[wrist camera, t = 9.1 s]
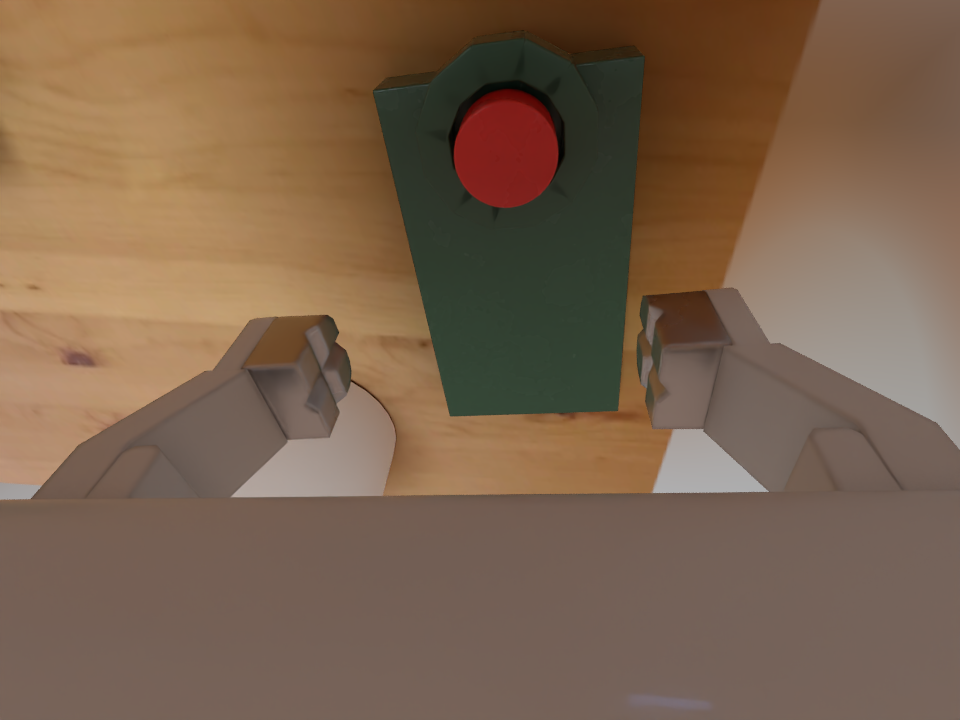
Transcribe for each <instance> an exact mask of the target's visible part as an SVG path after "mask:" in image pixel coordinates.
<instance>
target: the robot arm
mask: <svg viewBox="0 0 960 720" xmlns="http://www.w3.org/2000/svg"><path fill="white" fill-rule="evenodd" d="M640 318H641V322H642V325H643V330H642V331H641V332H640V333H639V334H638V339H637V367H638V374H639V378H640V382H641V385H643V386H644V387H645V388H647V391H646V400H645V402H646V406H647V410H648V414H649V418H650V421H651V425H652V429H704V432H705V433H706V434H707V435H708V436H709V437H710V438H711V439H712V440H714V441H715V442H716V443H717V444H718V445H719V446H720V447H721V448H722V449H723V450H724V451H725V452H727V453H728V454H729V455H730V456H731V457H732V458H733V459H734V460H735V461H736V462H737V463H738V464H740V465H741V466H742V467H743V468H744V469H745V470H746V471H747V472H748V473H749V474H750V475H751V476H753V477H754V478H755V479H756V480H757V481H758V482H759V483H760V484H761V485H763V487H765V488H766V489H767V490H768V491H769V492H732V493H730V492H728V493H624V494H506V495H412V496H319V497H231V496H232V495H233V494H234V493H235V492H236V491H237V490H238V489H239V488H240V487H242V486H243V485H244V484H245V483H246V482H247V481H248V480H249V479H250V478H251V477H252V476H253V475H254V474H255V473H256V472H257V471H258V470H259V469H260V468H261V467H263V466H264V465H265V464H266V463H267V462H268V461H269V460H270V459H271V458H272V457H273V456H274V455H275V454H276V453H277V452H278V451H279V450H280V449H281V448H282V447H284V446H285V445H286V444H287V443H288V441H287V440H298V439H316V438H330V435H331V433H332V431H333V428H334V426H335V423H336V421H337V418H338V416H339V413H340V411H339V409H338V407H337V403H338V402H339V401H340V400H342V399H343V398H344V397H346V396H347V393H348V390H349V388H350V384H351V366H350V360H349V357H348V355H347V352H346V350H345V349H344V348H342V347H341V346H340V345H338V344H337V343H336V342H335V341H336V339H337V336H338V334H339V331H338V329H337V326H336V324H335V322H334V319H333V318H331V317H330V316H328V315H310V316H286V317H266V318H256V319H253V320H250V321H249V322H248V324H247V325H246V326H245V328H244V329H243V331H242V332H241V333H240V335H239V336H238V337H237V339H236V340H235V341H234V343H233V344H232V345H231V347H230V348H229V349H228V351H227V352H226V353H225V355H224V356H223V357H222V359H221V360H220V362H219V363H218V364H217V366H216V367H215V368H214V370H213V371H204V372H203V373H201V374H199V375H198V376H196V377H194V378H192V379H191V380H189V381H187V382H186V383H184V384H182V385H180V386H179V387H177V388H175V389H174V390H172V391H170V392H169V393H167V394H165V395H163V396H162V397H160V398H158V399H157V400H155V401H153V402H151V403H150V404H148V405H146V406H145V407H143V408H141V409H139V410H138V411H136V412H134V413H133V414H131V415H129V416H128V417H126V418H124V419H122V420H121V421H119V422H117V423H116V424H114V425H112V426H110V427H109V428H107V429H105V430H104V431H102V432H100V433H99V434H97V435H95V436H93V437H92V438H90V439H88V440H87V441H85V442H83V443H81V444H80V445H78V446H77V447H76V449H75V450H74V451H73V452H72V453H71V454H70V455H69V456H68V458H67V459H66V460H65V461H64V462H63V463H62V464H61V465H60V467H59V468H58V469H57V470H56V471H55V472H54V473H53V474H52V475H51V477H50V478H49V479H48V480H47V481H46V482H45V483H44V484H43V486H42V487H41V488H40V489H39V490H38V491H37V492H36V494H35V495H34V496H33V497H32V498H31V499H28V500H27V499H25V500H24V499H23V500H21V499H20V500H0V720H960V450H959V449H958V447H957V446H956V445H955V444H954V443H953V442H952V440H951V439H950V438H949V437H948V436H947V434H946V433H945V432H944V431H943V430H942V429H941V427H940V426H939V425H938V424H937V423H936V422H933V421H932V420H930V419H928V418H926V417H924V416H922V415H920V414H918V413H916V412H914V411H912V410H910V409H908V408H906V407H904V406H902V405H900V404H898V403H896V402H895V401H892V400H891V399H889V398H887V397H884V396H883V395H881V394H879V393H877V392H875V391H873V390H871V389H869V388H867V387H865V386H863V385H861V384H859V383H857V382H855V381H853V380H851V379H849V378H847V377H845V376H843V375H841V374H839V373H837V372H835V371H834V370H831V369H830V368H828V367H826V366H824V365H822V364H819V363H818V362H816V361H814V360H812V359H810V358H808V357H806V356H804V355H802V354H800V353H798V352H796V351H794V350H792V349H790V348H788V347H786V346H784V345H782V344H780V343H775V344H770V343H769V341H768V339H767V338H766V336H765V334H764V333H763V331H762V329H761V328H760V326H759V324H758V323H757V321H756V320H755V318H754V316H753V315H752V313H751V311H750V310H749V308H748V306H747V305H746V303H745V302H744V300H743V298H742V297H741V295H740V293H739V292H738V290H736V289H734V288H722V289H712V290H702V291H694V292H682V293H670V294H658V295H646V296H643V298H642V302H641V308H640Z"/></svg>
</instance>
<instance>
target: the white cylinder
mask: <svg viewBox="0 0 960 720" xmlns="http://www.w3.org/2000/svg"><path fill="white" fill-rule="evenodd" d="M337 407H338V409H339V411H340V413H339V416H338V418H337V421H336V423H335V426H334V428H333V431H332V433H331V435H330V438H316V439H298V440H287V441H288V443H287V444H286V445H285V446H284V447H282V448H281V449H280V450H279V451H278V452H277V453H276V454H275V455H274V456H273V457H272V458H271V459H270V460H269V461H268V462H267V463H266V464H265V465H264V466H263V467H261V468H260V469H259V470H258V471H257V472H256V473H255V474H254V475H253V476H252V477H251V478H250V479H249V480H248V481H247V482H246V483H245V484H244V485H243V486H242V487H240V488H239V489H238V490H237V491H236V492H235V493H234V494H233V495H232V496H231V497H319V496H383V493H384V489H385V485H386V481H387V477H388V473H389V470H390V466H391V462H392V458H393V453H394V448H395V442H396V434H395V428H394V425H393V423H392V421H391V419H390V416H389V414H388V413H387V412H386V411H385V409H384V408H383V407H382V405H381V404H380V403H379V402H378V401H377V400H376V399H375V398H373V397H372V396H371V395H370V394H369V393H368V392H367V391H365V390H364V389H362V388H360V387H359V386H357V385H356V384H354V383H352V382H351V384H350V388H349V390H348V393H347V396H346V397H344V398H343V399H342V400H340V401H339V402H338V403H337Z"/></svg>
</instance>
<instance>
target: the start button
mask: <svg viewBox="0 0 960 720" xmlns="http://www.w3.org/2000/svg"><path fill="white" fill-rule="evenodd" d="M558 153H559V152H558V142H557V135H556V129H555V125H554V122H553V119H552V117H551V115H550V113H549V111H548V110H547V109H546V107H545V106H544V105H543V104H542V103H541V102H540V101H539V100H538V99H537V98H535V97H534V96H532V95H531V94H529V93H526V92H524V91H521V90H517V89H500V90H495V91H493V92H490V93H488V94H486V95H484V96H482V97H481V98H479V99H478V100H477V101H476V102H475V103H474V104H473V105H472V106H471V107H470V108H469V109H468V111H467V113H466V114H465V116H464V118H463V120H462V123H461V126H460V128H459V131H458V134H457V137H456V140H455V145H454V164H455V168H456V172H457V175H458V177H459V179H460V181H461V183H462V184H463V186H464V187H465V188H466V190H467V191H468V192H469V193H470V194H471V195H472V196H474V197H475V198H476V199H478V200H479V201H481V202H483V203H485V204H488V205H491V206H494V207H501V208H511V207H517V206H520V205H524V204H526V203H528V202H530V201H532V200H533V199H535V198H536V197H538V196H539V195H540V194H541V193H542V192H543V191H544V190H545V189H546V188H547V186H548V185H549V184H550V182H551V180H552V178H553V176H554V174H555V171H556V168H557V163H558Z"/></svg>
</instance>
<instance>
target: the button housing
mask: <svg viewBox="0 0 960 720" xmlns="http://www.w3.org/2000/svg"><path fill="white" fill-rule="evenodd" d="M644 61H645V56H644V55H643V54H642V53H641V52H640V51H639V50H638V49H637V48H636V47H635V46H627V47H619V48H612V49H604V50H596V51H589V52H581V53H573V54H568V52H566V51H564V50H562V49H560V48H559V47H557V46H555V45H553V44H551V43H549V42H547V41H545V40H543V39H541V38H539V37H538V36H536V35H534V34H532V33H530V32H528V31H524V30H521V31H513V32H506V33H499V34H492V35H485V36H477V37H476V38H473V39H472V40H471V41H470V42H469V43H468V44H467V45H465V46H464V47H463V48H462V49H461V50H460V51H459V52H458V53H457V54H455V55H454V56H453V57H452V58H451V59H450V60H449V61H448V62H447V63H445V64H444V65H443V66H442V67H441V68H440V69H439V70H438V71H435V72H428V73H420V74H413V75H405V76H397V77H390V78H385V79H384V80H383V81H382V82H381V83H380V84H379V85H378V86H377V87H376V88H375V89H374V90H373V94H374V98H375V103H376V107H377V111H378V115H379V120H380V124H381V128H382V132H383V136H384V141H385V145H386V149H387V153H388V157H389V162H390V166H391V170H392V174H393V178H394V183H395V187H396V191H397V195H398V199H399V204H400V208H401V212H402V216H403V220H404V225H405V229H406V233H407V237H408V241H409V246H410V250H411V254H412V258H413V263H414V267H415V271H416V275H417V279H418V284H419V288H420V292H421V296H422V300H423V305H424V309H425V313H426V317H427V321H428V326H429V330H430V334H431V338H432V342H433V347H434V351H435V355H436V359H437V363H438V368H439V372H440V376H441V380H442V385H443V389H444V393H445V397H446V401H447V406H448V410H449V414H450V416H478V415H509V414H540V413H570V412H601V411H618V405H619V391H620V378H621V365H622V352H623V339H624V325H625V312H626V299H627V286H628V273H629V259H630V246H631V233H632V220H633V207H634V193H635V180H636V167H637V154H638V141H639V127H640V114H641V101H642V88H643V75H644ZM500 89H517V90H521V91H524V92H526V93H529V94H531V95H532V96H534V97H535V98H537V99H538V100H539V101H540V102H541V103H542V104H543V105H544V106H545V107H546V109H547V110H548V111H549V113H550V115H551V117H552V119H553V122H554V125H555V129H556V135H557V142H558V152H559V153H558V163H557V168H556V171H555V174H554V176H553V178H552V180H551V182H550V184H549V185H548V186H547V188H546V189H545V190H544V191H543V192H542V193H541V194H540V195H539V196H538V197H536V198H535V199H533V200H532V201H530V202H528V203H526V204H524V205H520V206H517V207H511V208H501V207H494V206H491V205H488V204H485V203H483V202H481V201H479V200H478V199H476V198H475V197H474V196H472V195H471V194H470V193H469V192H468V191H467V190H466V188H465V187H464V186H463V184H462V183H461V181H460V179H459V177H458V175H457V172H456V168H455V164H454V145H455V140H456V137H457V134H458V131H459V128H460V126H461V123H462V120H463V118H464V116H465V114H466V113H467V111H468V109H469V108H470V107H471V106H472V105H473V104H474V103H475V102H476V101H477V100H478V99H479V98H481V97H482V96H484V95H486V94H488V93H490V92H493V91H495V90H500Z"/></svg>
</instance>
